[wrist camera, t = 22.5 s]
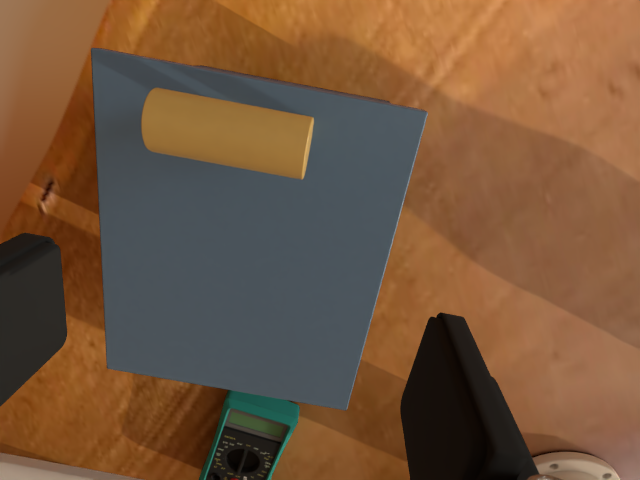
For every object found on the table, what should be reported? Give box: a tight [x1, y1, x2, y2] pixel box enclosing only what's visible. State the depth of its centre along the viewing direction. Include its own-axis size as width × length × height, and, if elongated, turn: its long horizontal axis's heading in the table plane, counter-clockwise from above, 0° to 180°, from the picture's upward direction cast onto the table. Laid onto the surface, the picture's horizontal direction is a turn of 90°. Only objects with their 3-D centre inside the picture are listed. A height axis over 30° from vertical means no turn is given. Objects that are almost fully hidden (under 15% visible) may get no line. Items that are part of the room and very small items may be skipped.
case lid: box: [91, 48, 428, 410], centre depth 18 cm, size 16×14×6 cm
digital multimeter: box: [199, 390, 300, 480], centre depth 42 cm, size 7×15×3 cm, turn 161°
